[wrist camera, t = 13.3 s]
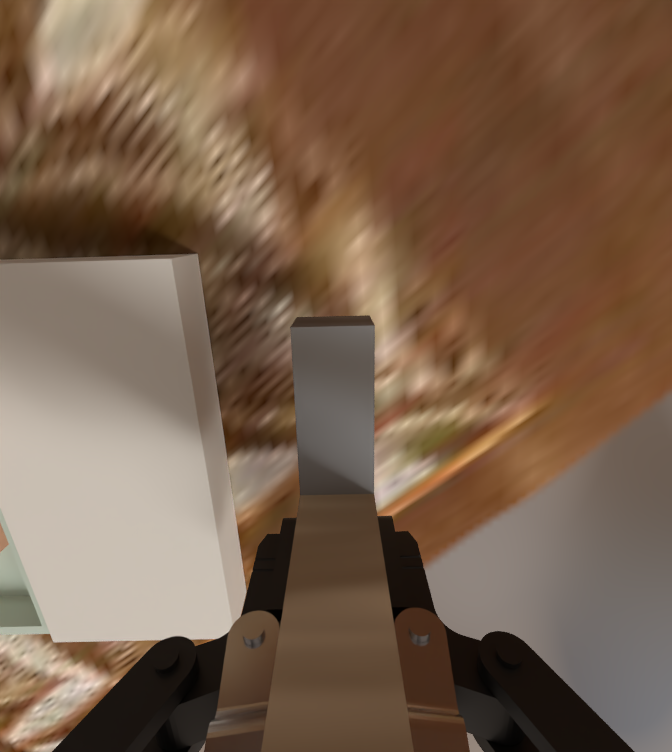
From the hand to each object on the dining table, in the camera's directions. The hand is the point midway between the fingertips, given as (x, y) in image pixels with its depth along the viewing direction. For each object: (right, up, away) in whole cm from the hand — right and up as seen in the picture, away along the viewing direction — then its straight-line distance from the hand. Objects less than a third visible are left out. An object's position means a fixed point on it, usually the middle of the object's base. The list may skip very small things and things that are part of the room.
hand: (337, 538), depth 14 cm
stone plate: (-11, +2, +7) cm, 13 cm away
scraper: (0, +1, +2) cm, 2 cm away
